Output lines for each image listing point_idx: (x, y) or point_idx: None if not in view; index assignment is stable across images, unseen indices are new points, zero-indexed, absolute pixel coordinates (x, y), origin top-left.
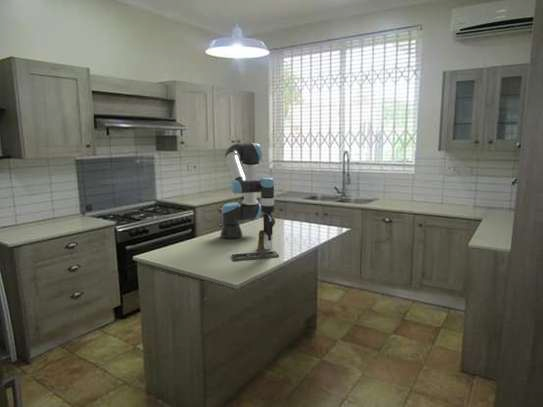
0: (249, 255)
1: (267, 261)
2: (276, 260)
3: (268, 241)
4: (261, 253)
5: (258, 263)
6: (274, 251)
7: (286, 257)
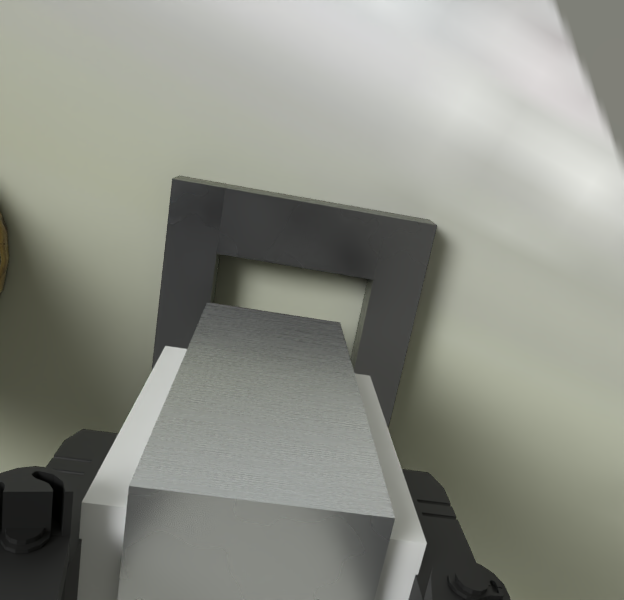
0: None
1: (527, 444)
2: (560, 324)
3: None
4: None
5: (533, 560)
6: (223, 209)
7: (520, 122)
